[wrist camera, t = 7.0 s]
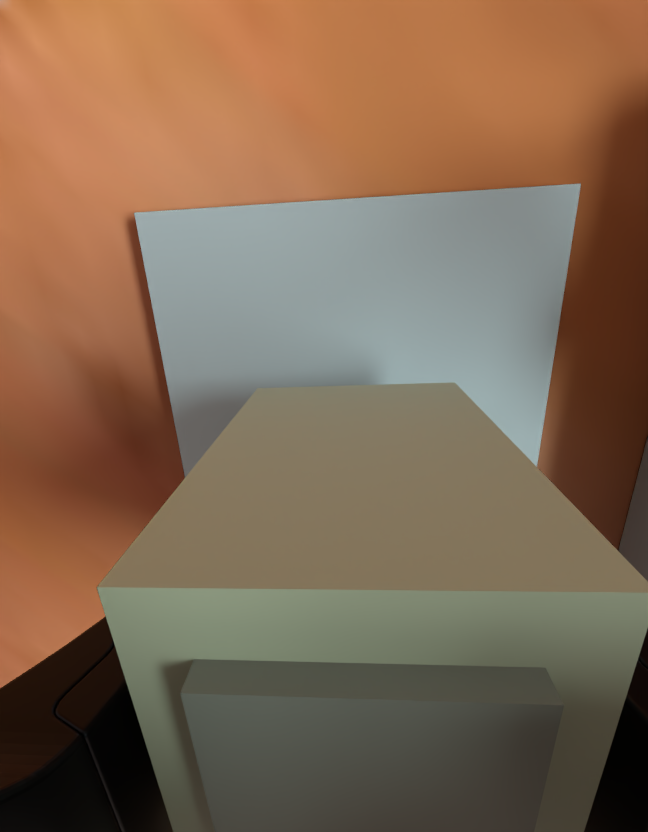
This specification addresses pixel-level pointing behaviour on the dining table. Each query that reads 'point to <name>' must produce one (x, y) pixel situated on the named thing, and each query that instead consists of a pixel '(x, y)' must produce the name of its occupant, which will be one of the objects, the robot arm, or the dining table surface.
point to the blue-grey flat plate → (361, 300)
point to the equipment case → (638, 522)
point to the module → (374, 624)
